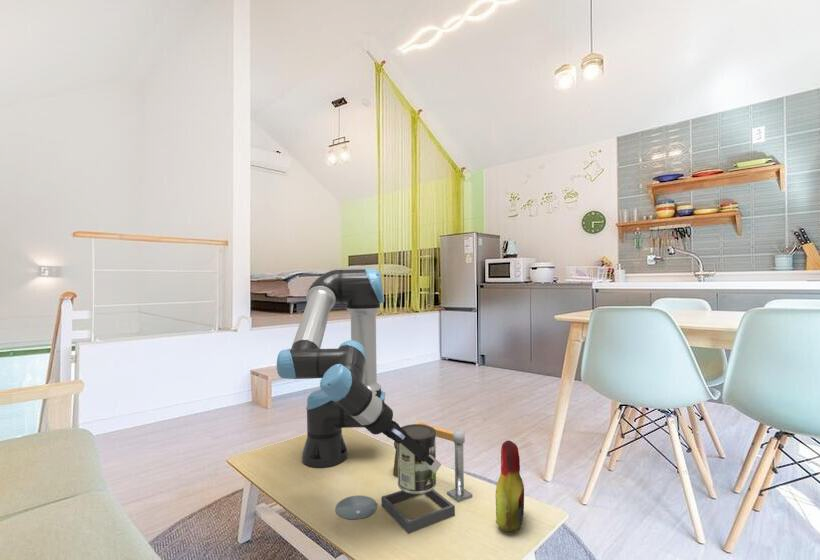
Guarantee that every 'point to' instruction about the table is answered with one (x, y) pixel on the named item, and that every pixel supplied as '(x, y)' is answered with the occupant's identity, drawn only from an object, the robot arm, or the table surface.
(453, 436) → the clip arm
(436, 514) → the square picture frame
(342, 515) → the slate coaster
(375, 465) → the table surface
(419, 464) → the coffee can
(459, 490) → the post
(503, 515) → the bottle
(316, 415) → the robot arm
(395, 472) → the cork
